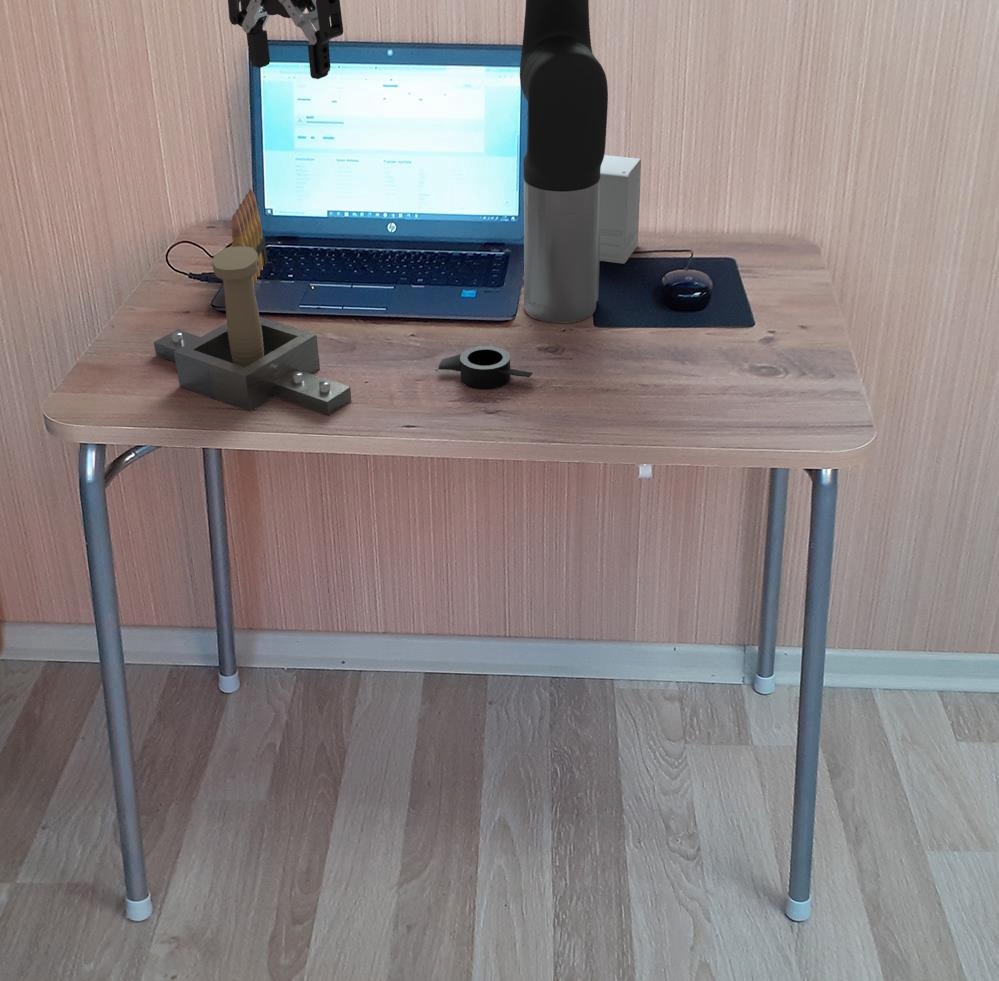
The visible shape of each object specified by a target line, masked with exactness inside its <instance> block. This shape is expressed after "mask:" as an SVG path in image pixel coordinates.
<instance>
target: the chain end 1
mask: <svg viewBox="0 0 999 981" xmlns="http://www.w3.org/2000/svg"><path fill="white" fill-rule="evenodd" d="M259 317H260V322H261V327H262V336H263V347H264V356H265V355H267V354H269V353H270V352H272V351H274V350H275V346H274V338H273V330H272V328H273V327H275V326H277V325H279V324H280V323H281V322H278V321H274V320H272V319H270V318H265V317H261V316H259ZM153 346H154V351H155V356H157V357H159V358H162V359H166V360H168V361H171V362H173V363H175V365H176V371H177V372H176V373H177V378H178V379H177V380H178V384H179V387H181V388H183V389H186V390H189V391H191V392H195V393H197V394H199V395H203V396H206V397H208V398H211V399H214V393H213V386H212V380H211V373H210V367H209V364H210V363H211V362H213V361H215V360H217V359H218V358H219V359H222V360H224V361H227V362H230V363H233V359H232V355H231V350H230V345H229V339H228V331H227V322H226V323H224V324H222V325H221V326H219V327H216V328H214V329H213V330H211V331H209V332H207V333H206V334H204V335H202V336H199V335H196V334H193V333H189V332H187V331H184V330H181V329H176V330H174V331H172V332H170V333H168V334H166V335H164V336H163V337H161V338H159V339H157V340H155V341H153ZM233 364H234V363H233ZM214 400H215V399H214Z"/></svg>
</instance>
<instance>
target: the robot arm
mask: <svg viewBox="0 0 999 981" xmlns="http://www.w3.org/2000/svg"><path fill="white" fill-rule="evenodd" d="M589 2H590V1H589V0H525V11H524V25H523V36H522V46H521V56H520V65H519V82H520V88H521V92H522V93H523V96H524V98H525V100H526V101H527V104H528V105H527V108H528V109H527V111H528V112H527V115H528V116H527V117H528V118H527V119H528V120H527V121H528V122H527V124H528V125H527V127H528V128H527V131H528V132H527V151H526V154H525V156H524V158H523V308H524V312H525V313H526V314H527V315H528V316H530V317H531V318H533V319H535V320H538V321H541V322H545V323H553V324H567V323H575V322H579V321H584V320H585V319H587V318H589V317H591V316H592V315H594V313H595V312H596V311H597V310H596V309H597V302H598V301H599V289H600V288H599V287H600V286H599V284H600V262H601V261H600V232H599V231H598V229H599V192H600V169H601V164H602V161H603V158H604V155H606V154H605V153H606V145H607V144H606V142H607V141H606V140H607V125H608V123H607V122H608V109H609V108H608V107H609V106H608V103H609V88H608V80H607V75H606V72H605V69H604V67H603V66H602V64H601V63H600V61H598V59H597V57H596V56H595V55H594V52H593V49H592V40H591V28H590V6H589V5H590V4H589ZM227 5H228V17H229V18H228V19H229V23H231V25H233V26H237V25H238V26H239V27H241V28H242V30H243V32H244V33H245V34H246V42H247V48H248V49H247V50H248V57H249V60H250V62H251V64H252V65H251V66H252V67H253V68H257V69H261V68H264V67H266V66H268V65H270V63H271V58H270V49H269V39H268V31H267V30H266V29H264V28H265V26H266V24H267V23H268V20H269V19H270V16H276V15H277V16H281V18H285V19H291V21H292V22H293V24H294V25H295V26H296V27H297V28H300V30H301V31H302V33H303V35H304V36H305V38H306V40H307V41H308V42H309V43H307V51H308V62H309V63H308V64H309V71H310V72H309V73H310V77H311V78H312V79H315V80H319V79H322V78H325V77H327V76H328V75H329V72H330V70H331V58H330V57H331V56H330V47H329V46H330V45H329V44H330V41H331V40H332V39H335V38H338V37H340V36H342V35H343V34H344V24H343V17H342V7H341V0H227ZM305 10H307V11H308V12H307V13H306V12H305ZM304 12H305V13H304Z"/></svg>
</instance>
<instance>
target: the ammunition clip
mask: <svg viewBox="0 0 999 981" xmlns="http://www.w3.org/2000/svg"><path fill="white" fill-rule="evenodd" d="M231 238H232V244H231V247H237V246H245V247H251V248H253V249H254V250H255V251H256V252H257V254H258V260H259V267H258V272H257V273H255V274H254V275H253V285H254V283H256V282H257V277H259V276H260V271H261V270H263V266H264V265H265V266H266V264H267V262H269V260H268V255H267V254H268V252H267V247H266V239H265V236H263V229H262V222H261V217H260V213H259V209H258V204H257V200H256V195H255V193H254V191H253V189H252V188H249V189H248V193H247V192H246V193H245V197H244V198H243V199H242V201H241V203H239V205H238V208H236V210H235V213H233V215H232V218H231Z"/></svg>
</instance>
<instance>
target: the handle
mask: <svg viewBox="0 0 999 981" xmlns="http://www.w3.org/2000/svg"><path fill="white" fill-rule="evenodd" d="M258 267H259V260H258V254H257V252H256V251H255V250H254V249H253V248H251V247H245V246H237V247H232V246H229V247H225V248H222V249H221V250H219V251H218V252H216V253H215V254H214V255H213V258H212V270H213V273H214V275H215V277H217V278H218V279H220V280H222V282H223V290H224V291H223V293H224V303H225V315H226V316H225V318H226V323H227V331H228V339H229V345H230V350H231V355H232V359H233V363H234V364H236V365H239V366H242V367H246V366H248V365H250V364H252V363H253V362H255V361H257V360H258V359H260V358H262V357H264V347H263V336H262V327H261V322H260V317H261V316H260V313H259V307H258V302H257V298H256V296H257V295H256V296H255V290H254V285H253V275H254V274H255V273H257V272H258Z"/></svg>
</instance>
